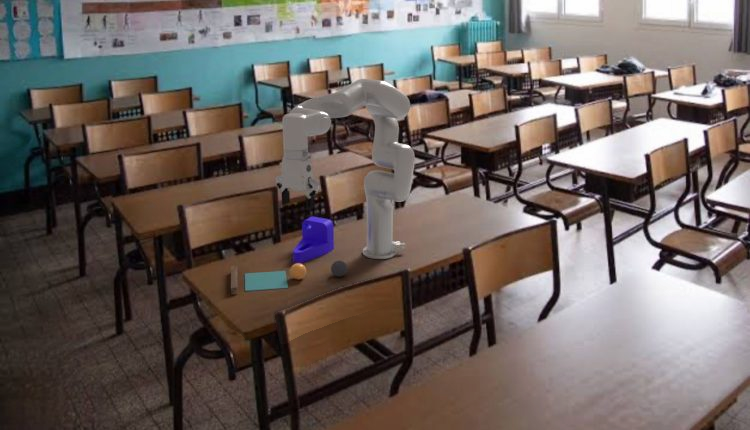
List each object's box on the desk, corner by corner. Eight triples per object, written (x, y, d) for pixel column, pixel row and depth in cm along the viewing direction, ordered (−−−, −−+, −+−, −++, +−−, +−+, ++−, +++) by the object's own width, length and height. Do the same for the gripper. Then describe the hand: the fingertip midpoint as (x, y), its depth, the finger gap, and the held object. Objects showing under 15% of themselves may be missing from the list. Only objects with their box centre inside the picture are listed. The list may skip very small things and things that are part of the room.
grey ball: (345, 272, 253) (345, 257, 251) (348, 278, 247) (348, 263, 246) (330, 273, 252) (329, 258, 250) (332, 279, 247) (331, 264, 245)
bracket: (309, 244, 278) (308, 215, 274) (333, 249, 273) (333, 220, 269) (283, 260, 262) (281, 230, 259) (308, 266, 258) (307, 235, 254)
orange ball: (305, 274, 250) (305, 260, 248) (307, 281, 245) (306, 266, 243) (289, 276, 249) (289, 261, 247) (290, 282, 244) (290, 267, 242)
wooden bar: (237, 272, 252) (237, 265, 251) (237, 294, 235) (237, 287, 235) (231, 272, 252) (231, 266, 251) (231, 294, 235) (230, 287, 234)
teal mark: (285, 271, 253) (285, 270, 253) (288, 288, 240) (288, 287, 240) (244, 274, 251) (244, 273, 251) (245, 291, 238) (245, 290, 238)
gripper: (325, 155, 221) (327, 208, 227) (282, 147, 230) (284, 198, 236) (310, 160, 215) (312, 214, 221) (266, 152, 224) (269, 204, 230)
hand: (297, 206), depth 228 cm, fingers open, 9 cm apart
